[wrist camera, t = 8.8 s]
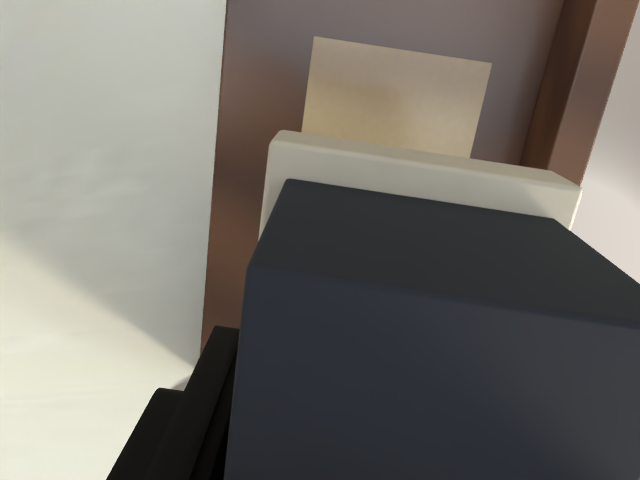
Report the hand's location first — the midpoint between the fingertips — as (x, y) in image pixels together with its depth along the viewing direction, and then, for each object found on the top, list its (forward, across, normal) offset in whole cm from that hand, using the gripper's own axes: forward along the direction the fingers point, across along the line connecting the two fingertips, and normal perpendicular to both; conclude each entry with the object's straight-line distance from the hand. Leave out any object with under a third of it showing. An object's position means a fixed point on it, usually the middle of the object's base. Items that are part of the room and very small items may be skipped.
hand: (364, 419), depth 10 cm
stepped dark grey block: (0, 0, 0) cm, 0 cm away
